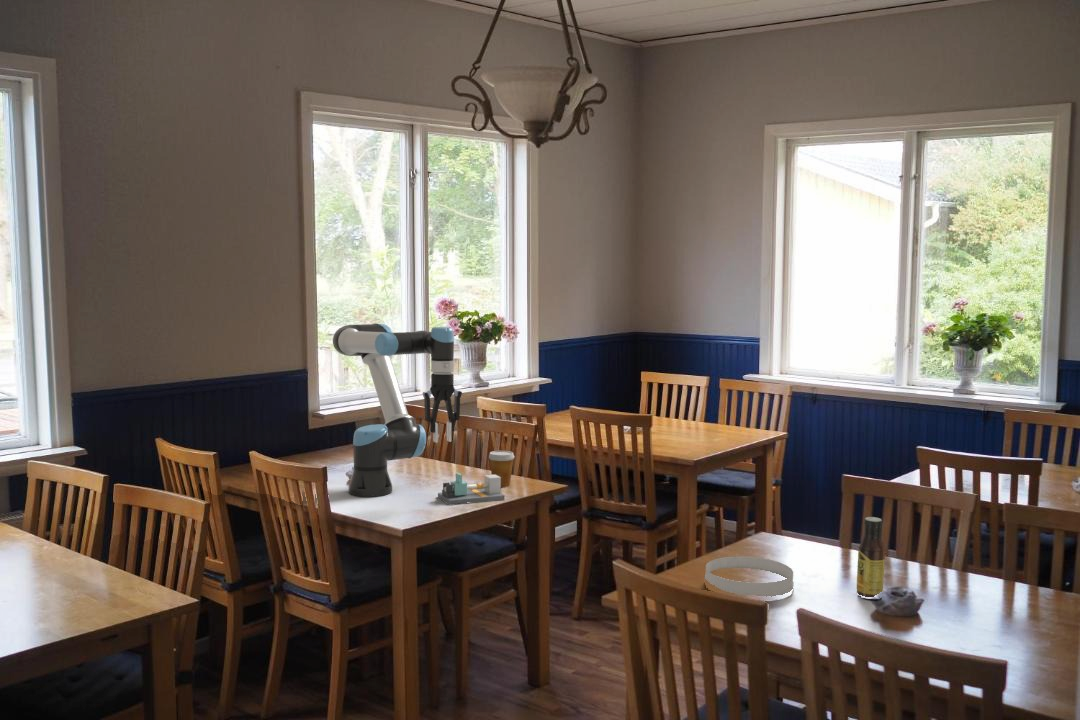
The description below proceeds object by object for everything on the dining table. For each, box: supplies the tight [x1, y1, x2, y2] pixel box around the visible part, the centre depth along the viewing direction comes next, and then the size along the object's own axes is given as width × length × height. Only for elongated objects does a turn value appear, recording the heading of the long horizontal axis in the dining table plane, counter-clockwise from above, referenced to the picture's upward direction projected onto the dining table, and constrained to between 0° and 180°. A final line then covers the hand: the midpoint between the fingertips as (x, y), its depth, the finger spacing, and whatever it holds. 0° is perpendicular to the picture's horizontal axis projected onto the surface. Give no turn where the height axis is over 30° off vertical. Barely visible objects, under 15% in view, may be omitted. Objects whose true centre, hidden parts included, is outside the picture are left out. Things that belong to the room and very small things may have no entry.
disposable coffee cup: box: [488, 450, 515, 488], centre depth 361 cm, size 10×10×12 cm
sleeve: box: [450, 472, 468, 496], centre depth 338 cm, size 4×4×7 cm
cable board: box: [437, 474, 505, 505], centre depth 341 cm, size 12×20×7 cm, turn 115°
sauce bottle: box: [856, 516, 886, 597], centre depth 242 cm, size 6×6×20 cm
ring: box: [704, 555, 795, 597], centre depth 250 cm, size 22×22×5 cm
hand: (442, 441), depth 334 cm, fingers open, 4 cm apart
